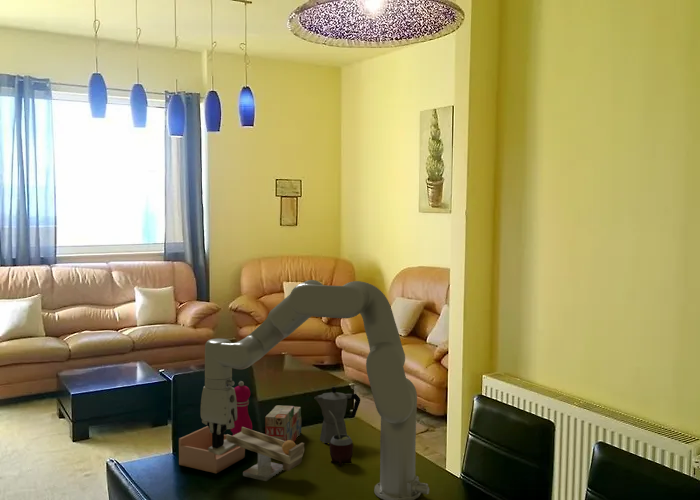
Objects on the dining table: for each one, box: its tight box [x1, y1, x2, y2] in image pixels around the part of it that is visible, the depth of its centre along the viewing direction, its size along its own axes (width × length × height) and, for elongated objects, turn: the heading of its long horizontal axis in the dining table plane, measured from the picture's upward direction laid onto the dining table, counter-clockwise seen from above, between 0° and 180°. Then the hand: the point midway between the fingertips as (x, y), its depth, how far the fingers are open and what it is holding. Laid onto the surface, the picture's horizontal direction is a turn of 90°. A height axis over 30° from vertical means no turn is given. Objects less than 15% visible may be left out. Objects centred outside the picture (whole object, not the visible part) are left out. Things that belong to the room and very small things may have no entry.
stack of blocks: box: [264, 405, 302, 443], centre depth 220 cm, size 21×6×12 cm, turn 170°
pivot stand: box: [242, 453, 285, 482], centre depth 195 cm, size 8×10×6 cm
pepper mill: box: [230, 380, 253, 436], centre depth 222 cm, size 7×7×20 cm
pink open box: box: [178, 425, 246, 474], centre depth 204 cm, size 14×14×8 cm
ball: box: [282, 440, 297, 455], centre depth 191 cm, size 4×4×4 cm
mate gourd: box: [329, 410, 354, 468], centre depth 203 cm, size 8×8×15 cm
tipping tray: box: [208, 427, 305, 472], centre depth 191 cm, size 22×16×6 cm
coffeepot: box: [313, 386, 361, 445], centre depth 222 cm, size 15×9×18 cm, turn 95°
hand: (217, 446), depth 191 cm, fingers closed
